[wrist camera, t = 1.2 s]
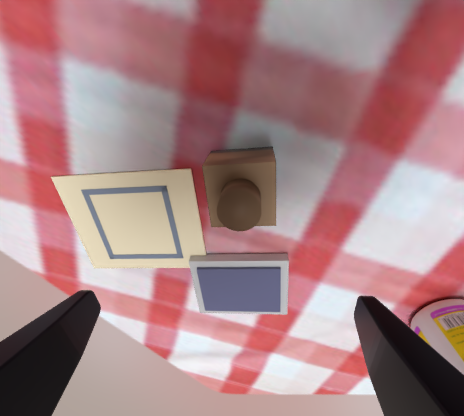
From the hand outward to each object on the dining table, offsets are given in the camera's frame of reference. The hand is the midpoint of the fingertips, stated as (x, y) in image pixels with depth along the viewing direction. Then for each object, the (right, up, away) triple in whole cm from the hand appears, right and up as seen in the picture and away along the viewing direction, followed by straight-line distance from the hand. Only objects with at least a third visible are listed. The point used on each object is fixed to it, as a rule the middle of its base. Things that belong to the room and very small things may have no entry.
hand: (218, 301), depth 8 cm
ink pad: (+1, -4, +16) cm, 16 cm away
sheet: (-8, +2, +14) cm, 16 cm away
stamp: (+1, +6, +11) cm, 12 cm away
